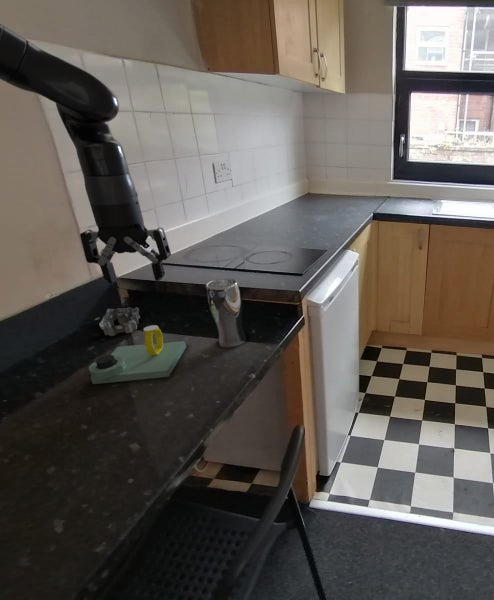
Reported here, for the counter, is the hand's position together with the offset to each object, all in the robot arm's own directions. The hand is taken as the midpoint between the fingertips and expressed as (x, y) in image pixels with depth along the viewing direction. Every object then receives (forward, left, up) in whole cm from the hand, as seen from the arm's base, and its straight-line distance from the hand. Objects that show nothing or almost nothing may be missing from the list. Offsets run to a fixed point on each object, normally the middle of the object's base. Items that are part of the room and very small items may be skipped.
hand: (136, 280), depth 81 cm
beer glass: (+15, +5, -19) cm, 24 cm away
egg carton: (-14, +18, -19) cm, 30 cm away
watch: (0, 0, -17) cm, 17 cm away
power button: (-7, -6, -15) cm, 18 cm away
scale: (-2, -2, -19) cm, 19 cm away
